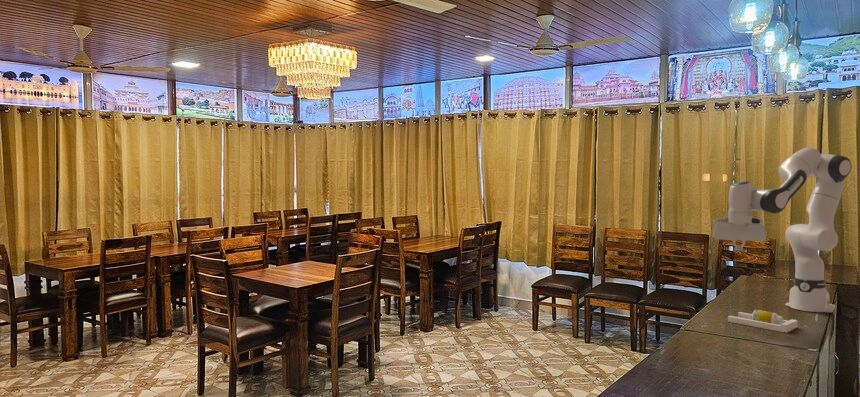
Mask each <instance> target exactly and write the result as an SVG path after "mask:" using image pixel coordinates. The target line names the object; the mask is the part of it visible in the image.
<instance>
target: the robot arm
mask: <svg viewBox="0 0 860 397" xmlns="http://www.w3.org/2000/svg"><path fill="white" fill-rule="evenodd" d="M851 170H852V162H851V160H850V158H848V157H847V156H844V155H841V154H837V155H836V154H831V153H820V151H818V150H817V148H814V147H809V146H808V147H804V148H801V149H799V150H798V151H796V152H793V154H791V155H790V156H788V157H787V158H786V159H785V160H784V161H782V163H781V164H780V165H779V166H778V174H779V177H780V178H781V179H782V180H783V183H782V184H781V185H780V186H779V187H777V188H773V189H761V188H760V189H759V188H757V187H755V186H754V185H752V184H751V182H750V181H744V180H743V181H737V182H733V183H732V184H730V187H729V189H728V190H729V191H728V205H729V208H728V210H727V212H728V214H727V218H726V217H725V218H720V217H718V218H715V219H714V220H713V221H712V228H713V235H712V236H713V239H715V240H723V241H724V240H729V241H732V244H733V245H734V251H740V252H742V251H744V246H745V245H746V242H747V241H748V242H749V241H751V242H765V241H766V240H767V231H766V227H765V226H764V225H763V224H764V219H763V218H762V217H761V218H760V217H758V216H755V215H752V212H753V211H754V212H761V213H763V212H764V213H769V214H779V213H781V212H782V211H783V210H784V209H786V207H787V205H788V203H789V202H790V200H791V199H792V198H793V197H794V196H795V195H796V193H798V191H799V190H801V188H802V187H803V186H804V184H805V183H806V181H807V180H808V179H807V178H808V177H809V178H810V177H811V178H815V179H816V178H817V182H816V183H815V185H814V187H813V189H812V191H811V195H810V196H809V200H808V201H807V205H806V207H805V208H806V209H805V210H806V213H807V214H808V224H807V223H797V224H796V223H795V224H791V225H790V226H788V227H787V228H786V230H785V231H784V232H785V233H784V237H785V239H786V241H787V242H788V244H790V248H791V249H792V254H793V256H794V262H795V263H794V266H795V267H794V268H795V271H794V273H795V274H794V277H793V287H792V286H791V288H790V289H789V297H788V298H789V299H788V302H786V303H785V306H787V307H789V308H792V309H794V310H799V311H804V312H811V313H833V312H834V310H835V309H836V304H832V303H831V301H830V294H829V292H828V290H827V289H826V284H827V283H826V282H827V280H826V278H825V262H824V260H823V259H822V258H821V256H820V254H819V252H818V251H828V250H832V249H834V248H836V246H837V245H838V242H839V235H838V233H837V232H836V230H835V224H834V222H835V221H834V220H835V215H836V212H837V209H838V206H839V203H840V200H841V198H842V194H843V190H844V186H845V183H844V182H845V181H844V180H845V179H846V178H847V177H848V176H849V174H850V173H851ZM737 241H741V243H742V244H741V245H740V246H739V245H737V244H736V243H737Z"/></svg>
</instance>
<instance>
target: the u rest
mask: <svg viewBox="0 0 860 397" xmlns="http://www.w3.org/2000/svg"><path fill="white" fill-rule="evenodd" d="M752 314H753V313H749V312H748V313H747V312H741V311H739V312H737V316H733V315H728V316H727V322H729V323H733V324H734V323H735V324H739V325H744V326H749V327H754V328H759V329H765V330H770V331H774V332H775V331H776V332H781V333H784V332H785V334H787V333H790V332H791V331H793V330H795V329H796V328H798V320H797V319H792V318H791V319H789V320H787V319H783V323H782V324H781V325H778V324H772V323H767V322H762V321H756V320H752Z"/></svg>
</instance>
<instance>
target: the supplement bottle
mask: <svg viewBox="0 0 860 397" xmlns="http://www.w3.org/2000/svg"><path fill="white" fill-rule="evenodd" d="M751 314H752V320H756V321H762V322H767V323H772V324H778V325H781V324H782V323H783V320H784V318H783V316H781V315H778V314H777V312H771V311H765V310H760V309H754V310H753V312H752V313H751Z"/></svg>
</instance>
